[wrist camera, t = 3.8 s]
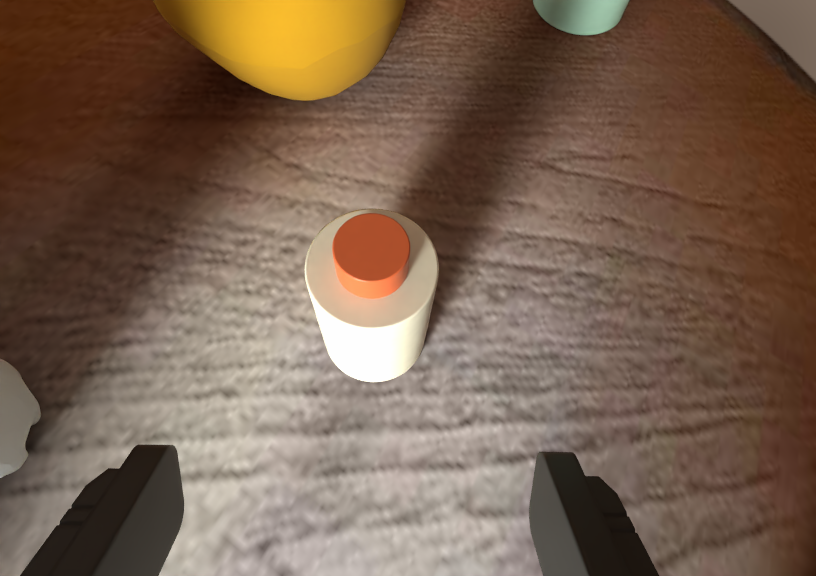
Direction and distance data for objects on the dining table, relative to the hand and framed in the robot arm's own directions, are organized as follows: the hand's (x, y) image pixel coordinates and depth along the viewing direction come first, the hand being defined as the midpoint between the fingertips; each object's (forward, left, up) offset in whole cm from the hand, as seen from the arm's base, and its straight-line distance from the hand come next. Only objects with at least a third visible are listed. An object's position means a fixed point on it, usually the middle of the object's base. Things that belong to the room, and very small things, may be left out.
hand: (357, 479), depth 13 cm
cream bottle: (+3, -7, -12) cm, 15 cm away
